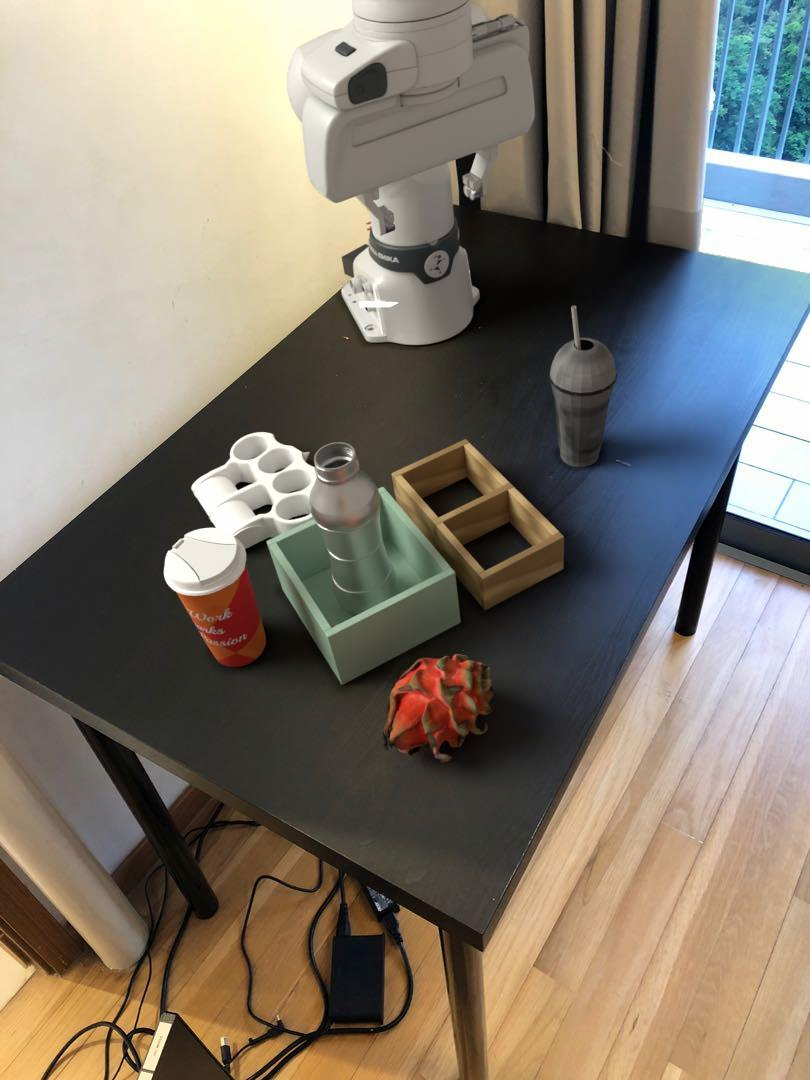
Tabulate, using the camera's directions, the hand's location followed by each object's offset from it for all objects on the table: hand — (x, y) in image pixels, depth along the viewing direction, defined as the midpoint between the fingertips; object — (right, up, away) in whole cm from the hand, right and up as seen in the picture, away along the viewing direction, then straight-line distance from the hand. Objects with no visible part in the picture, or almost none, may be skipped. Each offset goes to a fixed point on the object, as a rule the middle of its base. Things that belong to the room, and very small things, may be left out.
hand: (430, 213), depth 77 cm
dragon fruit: (+1, -46, +3) cm, 47 cm away
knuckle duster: (-18, -24, +27) cm, 41 cm away
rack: (+6, -28, +19) cm, 35 cm away
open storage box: (-6, -36, +14) cm, 39 cm away
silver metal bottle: (-6, -35, +14) cm, 38 cm away
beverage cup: (+18, -19, +26) cm, 37 cm away
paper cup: (-19, -40, +13) cm, 46 cm away
